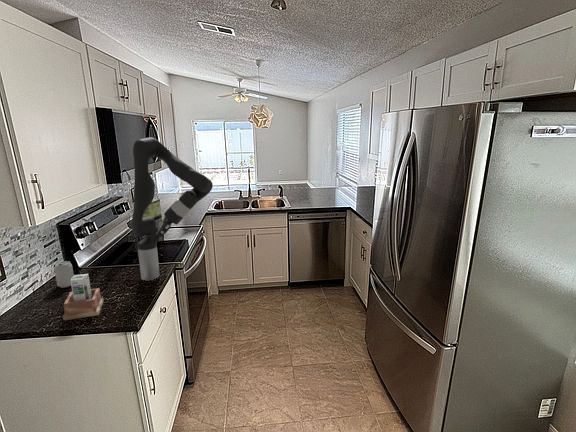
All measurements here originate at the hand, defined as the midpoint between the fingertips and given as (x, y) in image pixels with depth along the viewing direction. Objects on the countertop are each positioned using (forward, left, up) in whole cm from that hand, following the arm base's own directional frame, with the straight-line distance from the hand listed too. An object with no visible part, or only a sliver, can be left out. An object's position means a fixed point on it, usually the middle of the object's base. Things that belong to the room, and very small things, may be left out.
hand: (152, 238), depth 147 cm
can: (-32, -45, -31) cm, 63 cm away
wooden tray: (-2, -31, -31) cm, 43 cm away
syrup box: (-2, -31, -29) cm, 42 cm away
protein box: (-157, -9, -31) cm, 160 cm away
